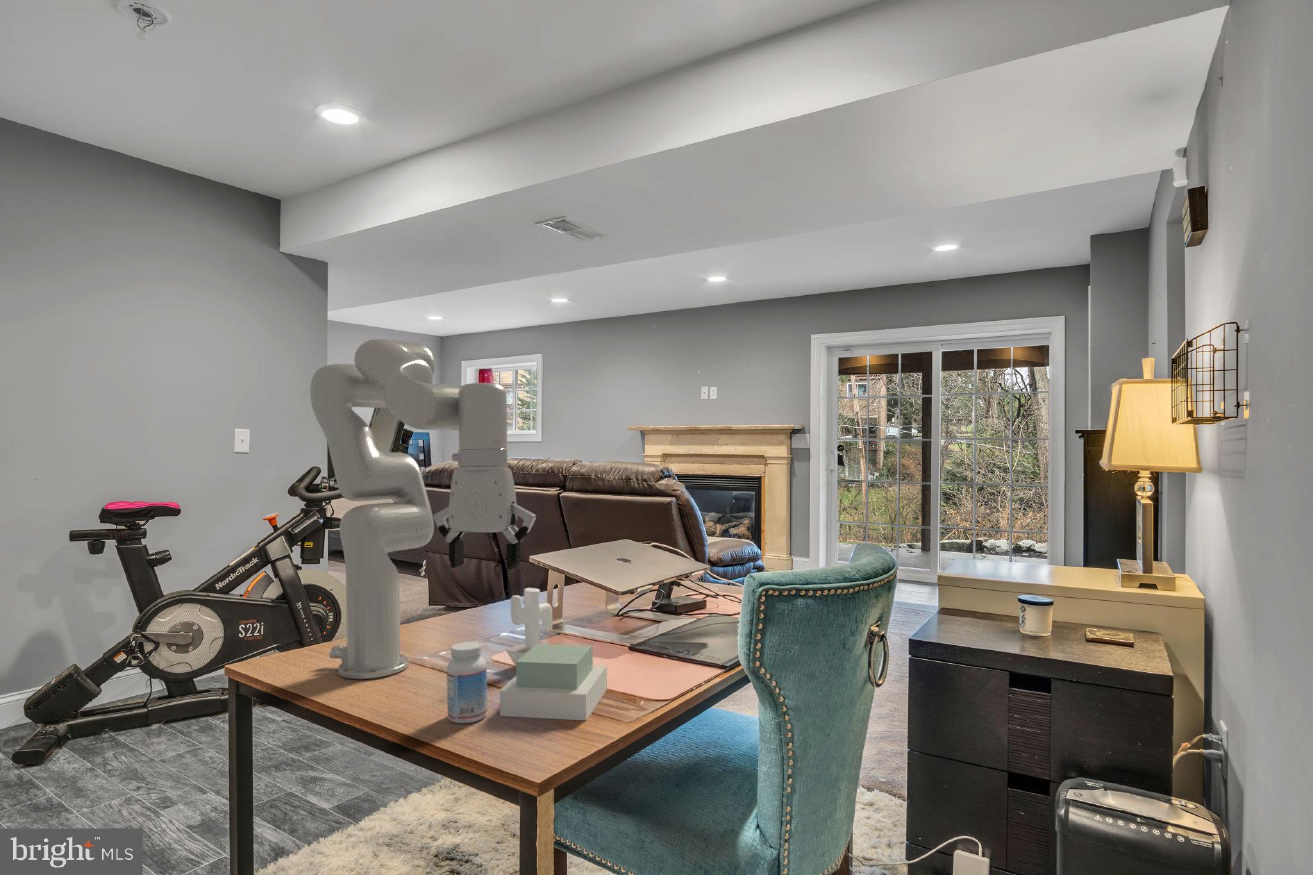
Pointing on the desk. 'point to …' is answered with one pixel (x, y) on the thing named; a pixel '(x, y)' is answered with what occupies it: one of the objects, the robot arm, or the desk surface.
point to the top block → (554, 666)
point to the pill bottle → (466, 683)
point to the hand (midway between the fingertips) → (484, 566)
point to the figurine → (529, 620)
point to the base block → (554, 699)
